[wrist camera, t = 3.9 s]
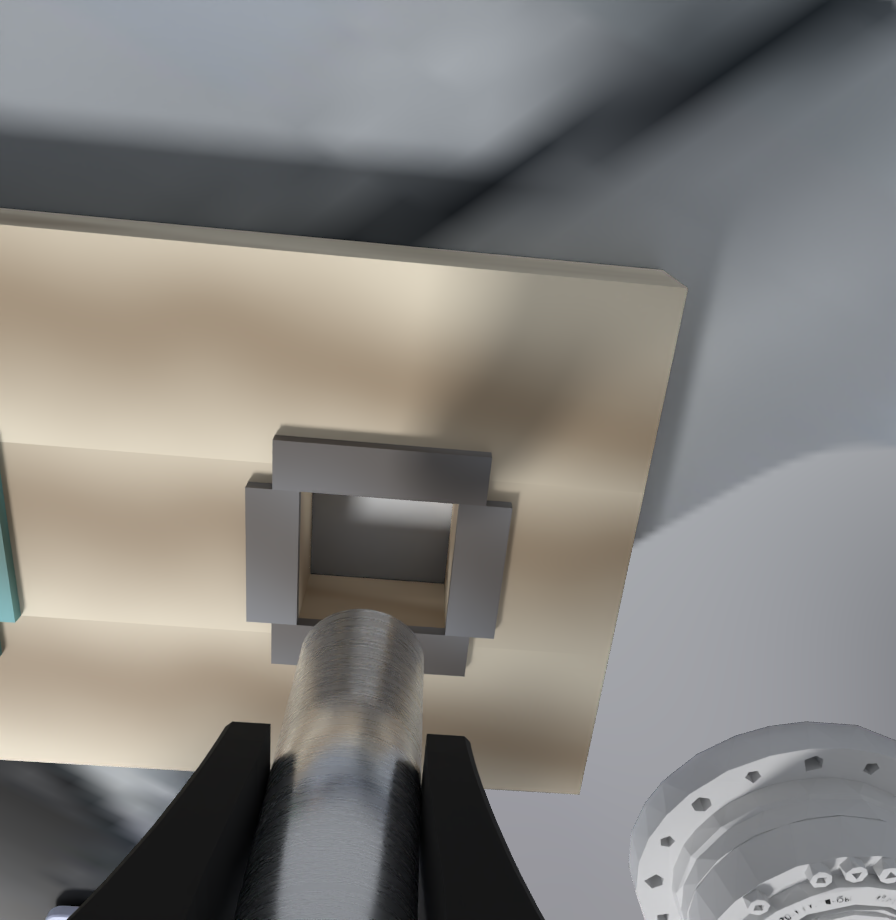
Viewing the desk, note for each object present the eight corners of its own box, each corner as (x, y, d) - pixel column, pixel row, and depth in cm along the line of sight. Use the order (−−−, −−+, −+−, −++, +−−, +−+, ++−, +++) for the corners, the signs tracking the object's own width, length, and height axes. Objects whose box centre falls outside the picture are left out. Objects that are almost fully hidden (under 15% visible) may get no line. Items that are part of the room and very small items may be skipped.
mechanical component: (910, 927, 28) (963, 702, 24) (991, 1066, 24) (1071, 823, 20) (624, 945, 28) (628, 725, 24) (656, 1087, 24) (667, 850, 20)
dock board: (568, 741, 24) (580, 803, 22) (-268, 688, 23) (-340, 748, 21) (662, 269, 18) (692, 291, 16) (-443, 166, 17) (-566, 175, 15)
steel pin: (425, 719, 16) (417, 1192, 9) (291, 710, 16) (177, 1183, 9) (437, 607, 15) (439, 1045, 8) (293, 597, 15) (165, 1033, 8)
